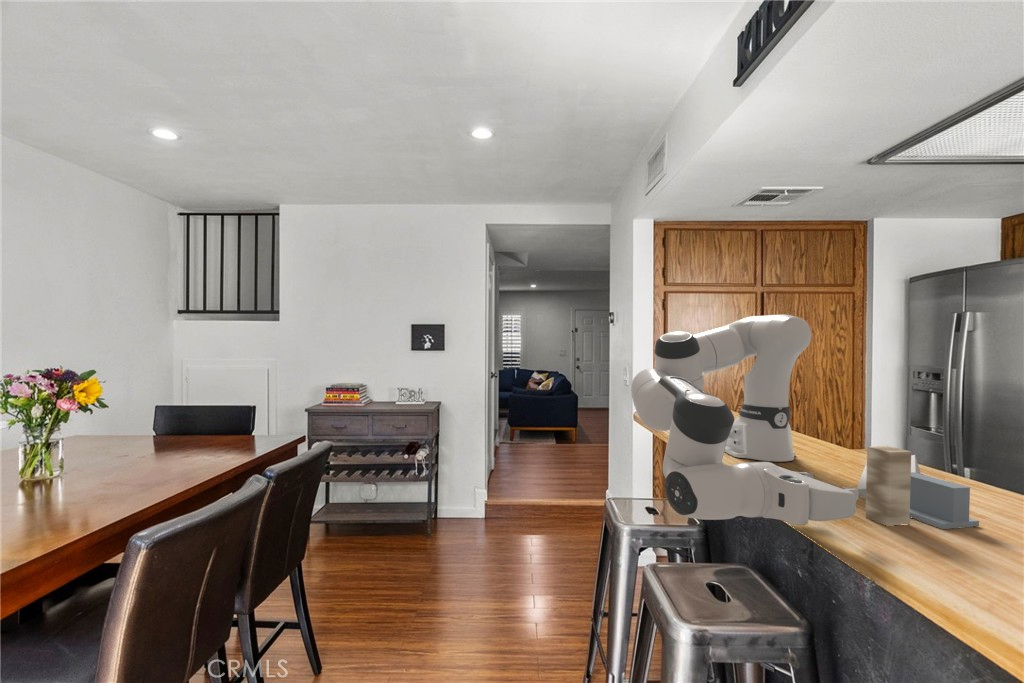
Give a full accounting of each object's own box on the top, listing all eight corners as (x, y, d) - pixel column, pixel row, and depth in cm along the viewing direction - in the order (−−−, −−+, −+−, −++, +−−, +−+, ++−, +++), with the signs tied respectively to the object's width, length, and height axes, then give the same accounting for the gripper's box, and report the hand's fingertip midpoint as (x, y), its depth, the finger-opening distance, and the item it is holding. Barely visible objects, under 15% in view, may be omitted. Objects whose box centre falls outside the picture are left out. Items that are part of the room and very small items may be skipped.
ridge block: (888, 509, 98) (889, 473, 98) (922, 507, 100) (923, 471, 100) (942, 529, 88) (943, 488, 88) (979, 526, 90) (980, 486, 90)
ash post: (865, 517, 93) (867, 446, 93) (885, 516, 94) (887, 445, 94) (888, 526, 89) (890, 452, 89) (909, 525, 90) (911, 451, 90)
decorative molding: (863, 513, 105) (923, 510, 99) (856, 489, 106) (915, 485, 100) (873, 478, 132) (921, 474, 126) (867, 459, 133) (914, 454, 127)
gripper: (723, 489, 96) (787, 485, 99) (808, 529, 76) (884, 524, 79) (724, 455, 96) (787, 453, 99) (809, 487, 76) (885, 483, 79)
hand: (831, 485), depth 89 cm, fingers open, 8 cm apart
